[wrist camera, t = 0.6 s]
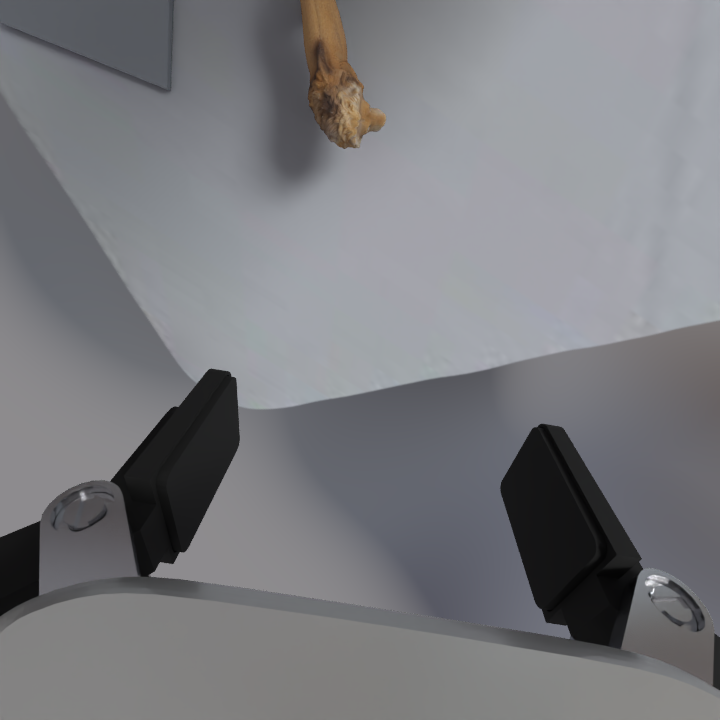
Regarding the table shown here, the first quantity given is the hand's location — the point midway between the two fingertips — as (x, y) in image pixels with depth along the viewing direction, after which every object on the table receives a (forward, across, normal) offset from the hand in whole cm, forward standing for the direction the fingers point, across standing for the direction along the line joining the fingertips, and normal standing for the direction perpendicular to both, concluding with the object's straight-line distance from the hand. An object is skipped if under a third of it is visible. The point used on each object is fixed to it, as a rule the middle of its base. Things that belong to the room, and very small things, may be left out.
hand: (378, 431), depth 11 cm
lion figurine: (+30, +6, -13) cm, 33 cm away
